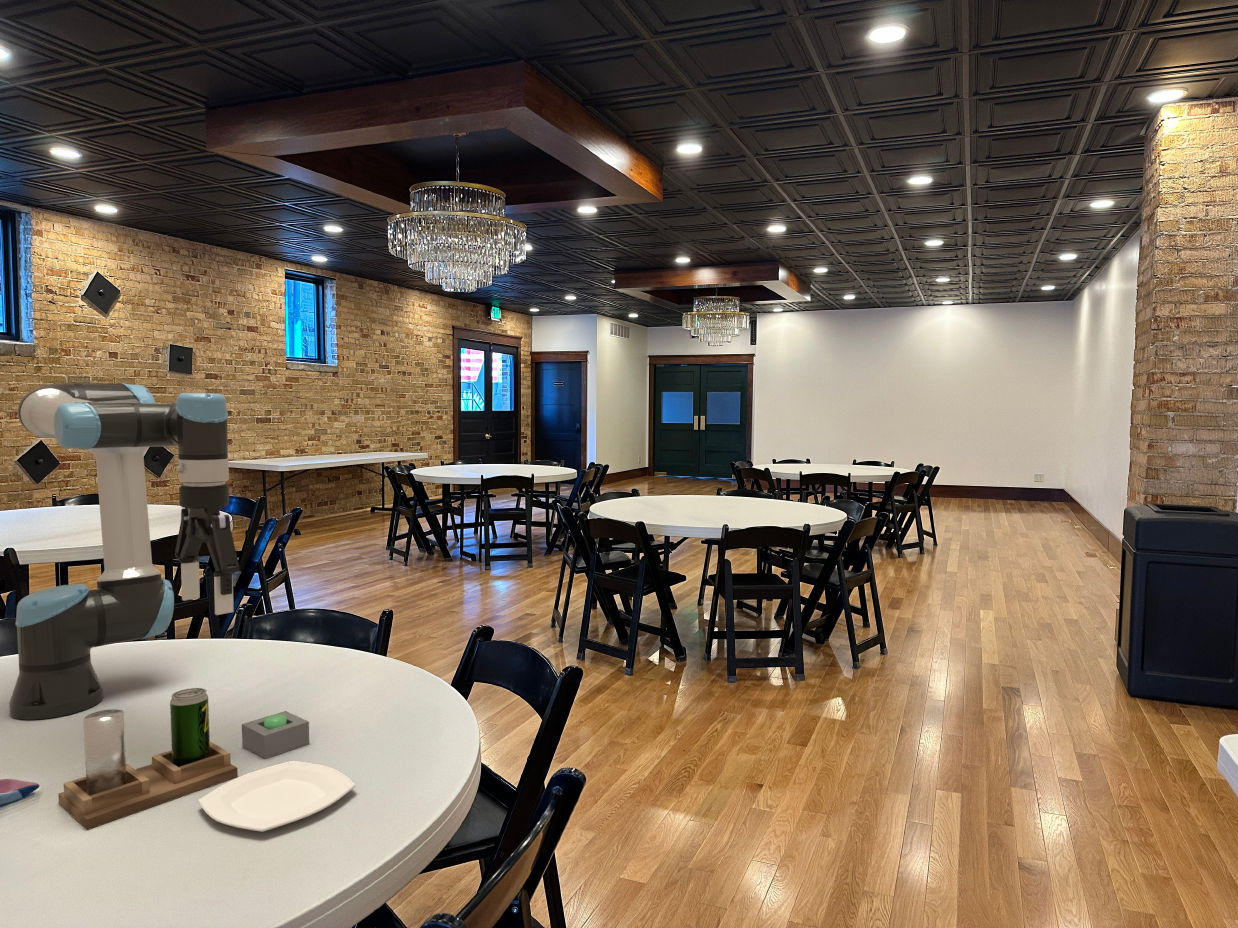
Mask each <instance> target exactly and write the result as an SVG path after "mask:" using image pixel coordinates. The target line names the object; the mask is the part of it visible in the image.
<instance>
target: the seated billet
mask: <svg viewBox="0 0 1238 928" xmlns="http://www.w3.org/2000/svg"><path fill="white" fill-rule="evenodd" d="M124 713H125V712H124V711H123V710H122V709H117V708H116V709H103V710H98V711H95V712H92V713H89V714H87V715H86V716H84V717H83V719H82V720H83V735H84V736H83V738H84V742H83V743H84V759H85V761H84V762H85V777H86V788H87V795H89V796H91V795H94V794H98V793H101V792H104V791H107V790H110V789H113V788H116V787H119V786H122V785H125V784H127V781H126V764H127V762H126V761H127V760H126V758H127V757H126V743H125V742H126V737H125V714H124Z"/></svg>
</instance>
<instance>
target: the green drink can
mask: <svg viewBox="0 0 1238 928" xmlns="http://www.w3.org/2000/svg"><path fill="white" fill-rule="evenodd" d="M169 701H170V702H169V707H170V708H169V711H170V735H171V740H170V741H171V750H172V763H173V764H174V765H176V766H177V767H181V766H184V765H187V764H190V763H193V762H196V761H199V760H202V759H205V758H208V757H210V742H211V741H210V737H211V736H210V735H211V734H210V714H209V713H210V712H209V706H210V705H209V695H208V694H207V689H205V688H202V687H192V688H191V687H190V688H185V689H181V690H178V691H176V692H173V693H172V694H171V699H170V700H169Z"/></svg>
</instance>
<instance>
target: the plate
mask: <svg viewBox="0 0 1238 928" xmlns="http://www.w3.org/2000/svg"><path fill="white" fill-rule="evenodd" d="M355 787H357V784H356V783H354V782H353V781H352V780H351V779H350V778H349V777H348V776H346V774H344V773H342V772H341V771H339V770H337V769H335V768H333V767H330V766H326V765H322V764H317V763H310V762H304V761H297V760H289V761H286V762H282V763H279V764H278V763H277V764H275V765H270V766H266V767H264V768H261V769H257V770H254V771H251V772H248V773H245V774H244V775H240V776H239V777H235V778H233V779H231V780H230V781H228V782H226V783H224V784H222V785H220V786H218V787H217V788H215V789H214V790H212V791H210V792H209V793H206V794H205V795H203V796H202V797H201V798H199V799H198V800H197V802H198V804H199V806H200V807H201V808H202V810H203V811H204V813H206V814H207V815H208V817H210V818H211V819H213V820H214V821H216V822H218V823H219V824H220V823H221V824H223V825H226V826H230V827H233V828H238V829H244V830H249V831H256V832H266V831H269V830H273V829H276V828H279V827H283V826H285V825H289V824H291V823H294V822H297V821H299V820H301V819H305V818H307V817H309V816H312V815H314V814H316V813H318V812H320V811H322V810H324V809H326V808H328V807H330V806H332V805H333V804H334V803H336V802H337V801H339V800H340V799H342V797H344V796H345V795H347V794H348V793H349V792H351V791H352V790H353V789H354V788H355Z"/></svg>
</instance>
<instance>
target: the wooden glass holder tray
mask: <svg viewBox="0 0 1238 928" xmlns="http://www.w3.org/2000/svg"><path fill="white" fill-rule="evenodd" d="M231 761H232V760H231V752H229V751H227V750H226V749H225V748H222V747H221V746H219V745H217V744H216V743H214V742H212V741H210V757H208V758H205V759H202V760H199V761H196V762H193V763H190V764H187V765H184V766H181V767H177V766H176V765H174V764H173V763H172V749H171V750H168V751H165V752H161V753H158V754H155V755H152V756H151V764H148V765H145V766H142V767H139V768H136V769H135V767H132V766H131V765H130V764H129V763H126V781H127V784H125V785H122V786H119V787H116V788H113V789H110V790H107V791H104V792H101V793H98V794H94V795H91V796H89V795H87V788H86V776H83V777H79V778H76V779H73V780H71V781H67V782H64V783H63V792H62V791H61V792H59V793H58V795H57V797H58V798H57V799H58V804H59V806H61V807H62V808H63V809H64V810H66V812H68V814H69V815H70V816H71V817H73V818H74V819H75V820H76V821H77V823H79V824H80V825H82V827H84V829H86V831H87V830H90V829H93V828H96V827H100V826H102V825H105V824H108V823H111V822H113V821H116V820H118V819H121V818H124V817H127V816H130V815H134V814H136V813H138V812H139V813H140V812H141V811H146V810H148V809H150V808H152V807H155V806H158V805H161V804H164V803H167V802H170V801H172V800H176V799H178V798H182V797H183V796H184V797H185V796H186V795H190V794H192V793H196V792H199V791H201V790H204V789H207V788H210V787H214V786H215V785H218V784H221V783H224V782H227V781H229V780H230V781H231V780H234V779H236V778H238V774H239V773H238V772H239V771H238V767H237V766H235V765H234V764H232V762H231Z"/></svg>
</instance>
